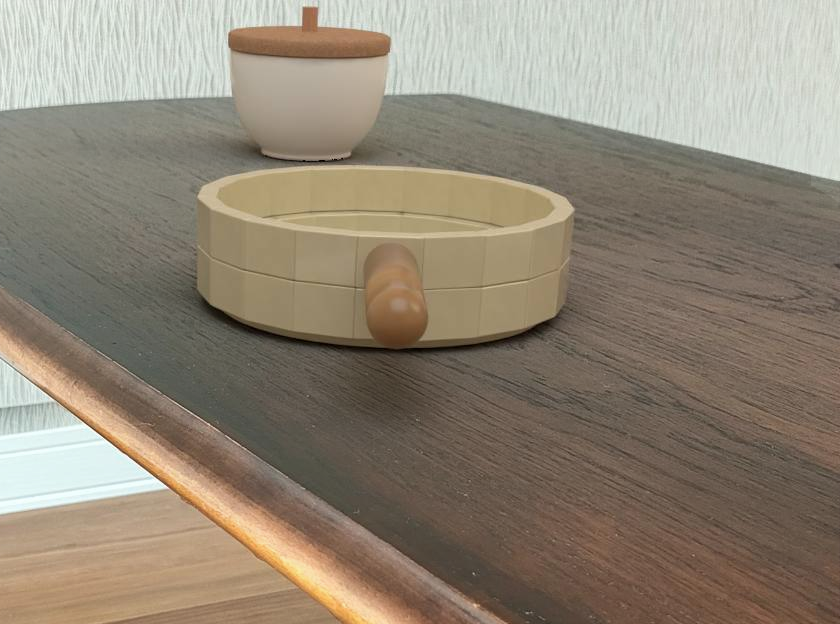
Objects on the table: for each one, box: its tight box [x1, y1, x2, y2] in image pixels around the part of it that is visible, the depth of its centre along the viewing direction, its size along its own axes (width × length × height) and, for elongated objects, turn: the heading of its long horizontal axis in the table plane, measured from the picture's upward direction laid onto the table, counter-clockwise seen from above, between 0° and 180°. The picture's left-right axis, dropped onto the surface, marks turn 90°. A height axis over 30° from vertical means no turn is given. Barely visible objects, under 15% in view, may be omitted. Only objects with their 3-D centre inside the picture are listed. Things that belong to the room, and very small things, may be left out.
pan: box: [196, 164, 576, 349], centre depth 62 cm, size 16×16×4 cm
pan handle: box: [363, 243, 428, 350], centre depth 50 cm, size 2×9×2 cm, turn 178°
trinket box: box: [227, 5, 392, 162], centre depth 96 cm, size 11×11×9 cm
